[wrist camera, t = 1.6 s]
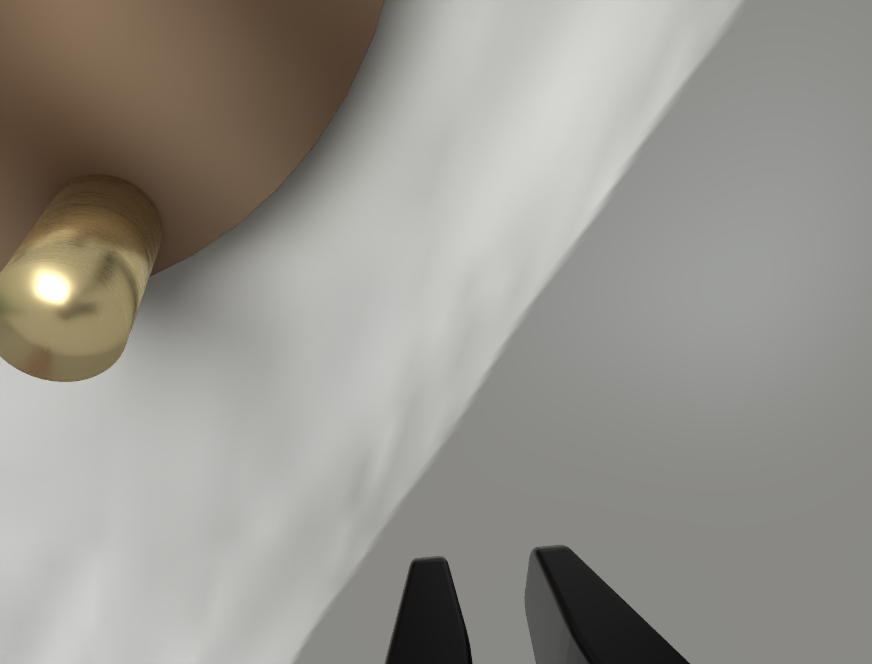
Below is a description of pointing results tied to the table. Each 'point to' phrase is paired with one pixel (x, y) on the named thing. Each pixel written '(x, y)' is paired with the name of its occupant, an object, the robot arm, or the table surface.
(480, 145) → the table surface
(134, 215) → the dial
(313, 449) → the table surface
